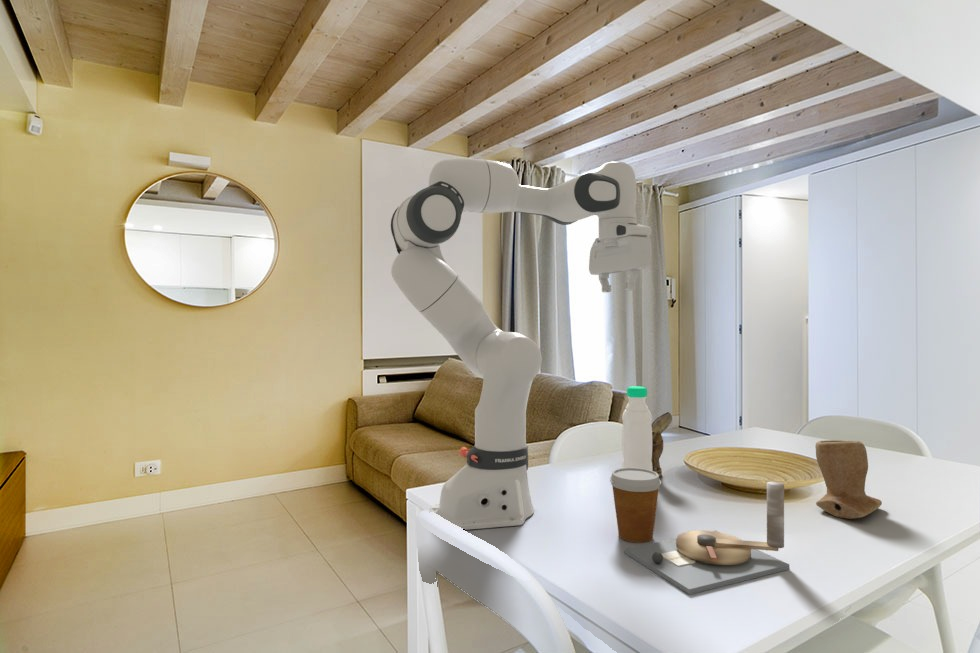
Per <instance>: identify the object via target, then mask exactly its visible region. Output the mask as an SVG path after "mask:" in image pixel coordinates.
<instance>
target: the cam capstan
mask: <svg viewBox="0 0 980 653" xmlns="http://www.w3.org/2000/svg"><path fill="white" fill-rule="evenodd" d="M713 531H714V530H711V531H710V530H689V531H685V532H682V533H680V534H678V536H677V537H675V539H676V547H677V549H678V550H679V551H680V552H681V553H682V554H684V555H685V556H687V557H689V558H692V559H694V560H697V561H701V562H705V563H710V564H717V565H735V564H741V563H744V562H746V561H748V560H749V559H750V558H751V549H757V550H759V551H771V552H772V551H773V552H779V549H783V548H785V484H784V483H783V482H778V481H767V482H766V541H755V540H753V541H752V540H743V539H740V538H739V537H736V536H733V535H731V534H727V533H724V532H720V531H718V532H713Z"/></svg>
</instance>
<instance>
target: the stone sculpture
mask: <svg viewBox="0 0 980 653" xmlns="http://www.w3.org/2000/svg"><path fill="white" fill-rule="evenodd" d="M672 421H673V415H672V414H671V413H670V412H669V411H667V412H665V413H663V414H661V415H660V416H658V417H656V418H655V419H654V421H652V422H651V426H652V460H651V461H652V471H654V472H656V473H658V475H659V478H661V477H662V474H663V472H662V468H661V465H660V458H661V456H662V454H663V451H664V439H663V438H664V437H663V435H662V434H663V432H664V431H665V430H666V429H668V427H669V426H670V425H671V423H672Z"/></svg>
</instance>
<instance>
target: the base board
mask: <svg viewBox="0 0 980 653" xmlns="http://www.w3.org/2000/svg"><path fill="white" fill-rule="evenodd" d="M712 531H713V532H719V531H717V530H716V529H715V530H712ZM624 554H625V555H627V556H628V557H630V558H631V559H633V560H635V561H636V562H638V563H639V564H641V565H642V566H644V567H645V568H647V569H649V570H650V571H652V572H653V573H655V574H656V575H658V576H660V577H661V578H663V579H664V580H666V581H668V582H669V583H671V584H672V585H673V586H675V587H677V588H679V589H680V590H682V591H683V592H685V593H686V594H688V595H693V594H697V593H701V592H705V591H709V590H712V589H713V590H714V589H716V588H721V587H725V586H728V585H733V584H736V583H741V582H745V581H748V580H753V579H756V578H760V577H764V576H768V575H773V574H775V573H780V572H784V571H789V570H790V564H789V563H787V562H785V561H783V560H781V559H780V558H779V559H778V558H776V557H774V556H772V555H771V554H768V553H765V552H763V551H762V550H757V549H751V558H750V559H749V560H748V561H746V562H744V563H741V564H735V565H717V564H710V563H705V562H701V561H697V560H694V559H692V558H689V557H687V556H685V555H684V554H682V553H681V552H680V551H679V550H678V549H677V547H676V538H672V539H666V540H661V541H656V542H652V543H647V544H641V545H635V546H632V547H631V546H630V547H626V548H624Z"/></svg>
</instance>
